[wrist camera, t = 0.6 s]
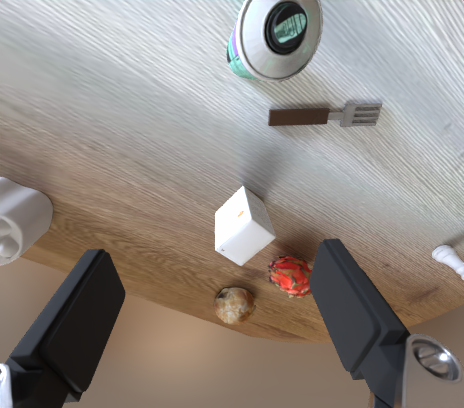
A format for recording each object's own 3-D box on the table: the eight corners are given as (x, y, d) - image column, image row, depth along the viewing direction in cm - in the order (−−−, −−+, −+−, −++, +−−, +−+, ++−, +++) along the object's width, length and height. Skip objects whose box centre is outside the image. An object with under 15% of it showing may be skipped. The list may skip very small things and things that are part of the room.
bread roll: (237, 271, 55) (229, 290, 48) (265, 300, 55) (261, 323, 48) (213, 291, 59) (201, 311, 51) (239, 318, 59) (231, 342, 51)
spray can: (275, 47, 28) (366, 7, 11) (251, 86, 30) (294, 103, 13) (242, 16, 26) (288, -89, 9) (218, 60, 28) (220, 41, 11)
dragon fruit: (303, 269, 53) (264, 247, 51) (330, 266, 46) (286, 240, 44) (295, 304, 49) (253, 281, 47) (324, 307, 42) (275, 281, 40)
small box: (235, 227, 43) (240, 267, 34) (214, 212, 41) (213, 251, 32) (264, 201, 41) (277, 238, 32) (243, 184, 38) (251, 218, 29)
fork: (267, 128, 33) (268, 129, 33) (269, 106, 32) (270, 106, 31) (373, 125, 34) (376, 125, 34) (380, 103, 33) (383, 103, 32)
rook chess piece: (426, 256, 51) (458, 284, 45) (440, 242, 49) (476, 269, 42) (440, 259, 52) (473, 287, 45) (454, 246, 50) (492, 273, 43)
